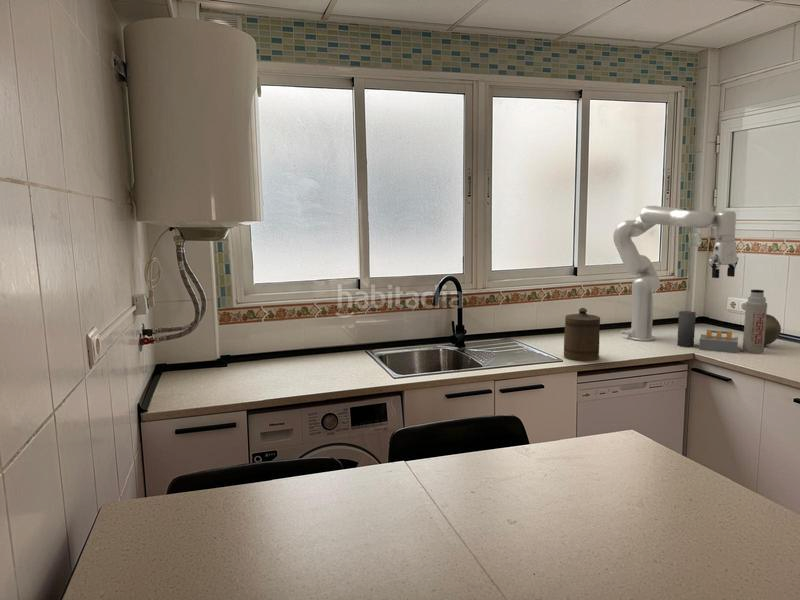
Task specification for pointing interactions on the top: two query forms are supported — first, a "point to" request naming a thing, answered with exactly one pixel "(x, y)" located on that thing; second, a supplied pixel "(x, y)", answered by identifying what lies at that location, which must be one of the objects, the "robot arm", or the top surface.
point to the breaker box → (718, 343)
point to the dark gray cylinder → (686, 329)
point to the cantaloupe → (771, 329)
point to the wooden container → (581, 336)
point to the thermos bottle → (755, 323)
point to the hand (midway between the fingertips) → (723, 277)
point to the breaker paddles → (719, 333)
